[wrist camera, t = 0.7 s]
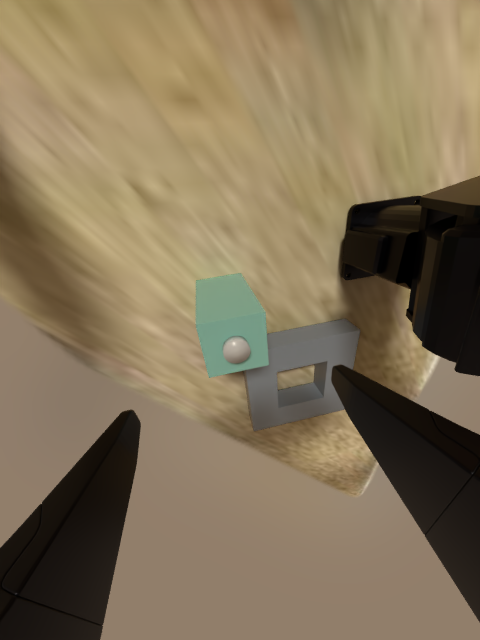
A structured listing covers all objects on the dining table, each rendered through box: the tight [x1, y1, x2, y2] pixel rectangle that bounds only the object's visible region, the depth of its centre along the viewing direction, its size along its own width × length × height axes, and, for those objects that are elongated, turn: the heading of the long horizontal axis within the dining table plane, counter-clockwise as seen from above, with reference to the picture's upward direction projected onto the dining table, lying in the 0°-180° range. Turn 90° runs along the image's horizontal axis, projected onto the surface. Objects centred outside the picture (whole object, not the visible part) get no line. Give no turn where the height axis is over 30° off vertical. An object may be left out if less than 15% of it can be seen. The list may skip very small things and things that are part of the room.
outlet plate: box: [243, 319, 360, 431], centre depth 25 cm, size 12×12×2 cm
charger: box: [196, 273, 269, 378], centre depth 16 cm, size 4×4×9 cm
